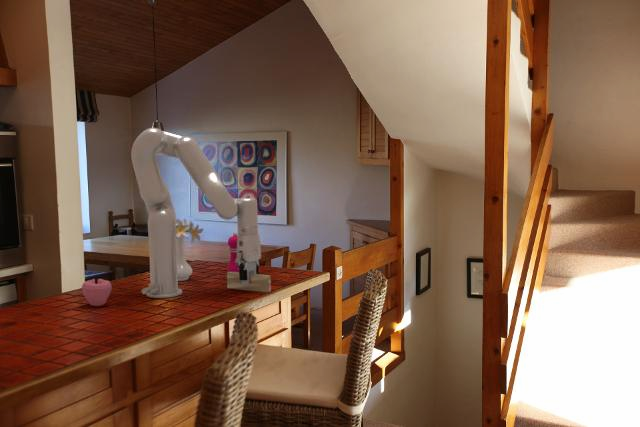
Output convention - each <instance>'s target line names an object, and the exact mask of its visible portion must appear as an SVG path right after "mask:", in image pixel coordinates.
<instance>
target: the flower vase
mask: <svg viewBox="0 0 640 427" xmlns="http://www.w3.org/2000/svg"><path fill="white" fill-rule="evenodd" d="M194 225H195V224H194V222H192V220H191V219H189V222H188V220H187V219H186V218H183V221H182V220H180V219H179V218H176V250H177V280H178V282H182V281H183V282H184V281H188V280H189V277H190V276H191V275H192V274H193V268H192V266H191V265H190V264H189V263H188V262H187V260H186V256H185V248H184V240H185V237H186V238H187V237H189V236H191V241H190V242H191V243H192V244H193V243H194V242H195V240H197V241H199V242H200V241H201V236H200V235H199V234H201V233H203V231H204V228H199V226H200V225H199V224H196V226H194ZM189 234H190V235H189Z"/></svg>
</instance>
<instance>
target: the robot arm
mask: <svg viewBox="0 0 640 427" xmlns="http://www.w3.org/2000/svg"><path fill="white" fill-rule="evenodd" d="M130 152H131V156H130V157H131V162H132V166H133V169H134V174H135V178H136V182H137V185H138V188H139V193H140V197H141V199H142V201H144V204H145V207H146V212H147V214H148V219H147V232H148V250H149V251H148V253H149V274H150V279H149V280H150V282H149V283H148V287H145V288H142V289H141V293H142V294H143V295H146V296H147V297H149V298H154V299H163V298H164V299H166V298H174V297H178V296H180V295H182V294H183V289H182V288H178V286H179V284H178V282H179V281H178V280H177V250H176V219H177V216H176V212H175V208H174V205H173V201H172V198H171V195H170V191H169V188H168V185H167V184H166V182H165V181H164V180H163V177H162V173H161V170H160V165H159V163H158V159H157V155H158V154H160V155H164V156H168V157H172V158H174V159H178V160H179V161H180V163H181V165H182V166H183V167H184V168H185V170H186V172H187V173H188V174H189V176H190V178H191V179H192V180H193V181H194V183H195V184H196V186H197V187H198V189H200V191H201V192H202V193H203V195H204V197H206V199H207V200H208V202H209V203H210V205H211V207H212V208H213V209H214V210H215V212H216V214H217V215H218V217H220V219H222V220H226V221H228V220H229V221H230V220H232V219H234V218H235V217H236V219H237V220H236V221H237V223H236V224H237V236H238V240H237V258H236V260H235V262H236V264H237V266H238V269H239V279H240V280H245V281H246V280H248V278H247V270H246V267H247V263H250V262H253V261H256V274H259V273H260V272H259V266H260V261H261V259H262V247H261V246H262V245H261V239H260V235H259V223H258V200H257V198H255V197H241V198H234V197H232V195H231V193H229V191H228V190H227V188H226V186H225V185H224V184H223V181H222V180H221V178H220V176H219V174H218V173H217V171H216V170H215V168H214V167H213V164H212V163H211V162H210V161H209V159H208V157H207V156H206V154H205V153H204V152H203V150H202V149H201V147H200V145H199V144H198V142H197V141H196V140H195V139H194V137H191V136H183V135H179V134H175V133H172V132H167V131H164V130H161V129H159V128H157V127H149V128H147V129H145V130H142V132H141V133H140V134H139V135H138V136H137V137H136V139H135V140H134V142H133V144H132V147H131V151H130ZM242 263H244V265H243V264H242Z"/></svg>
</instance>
